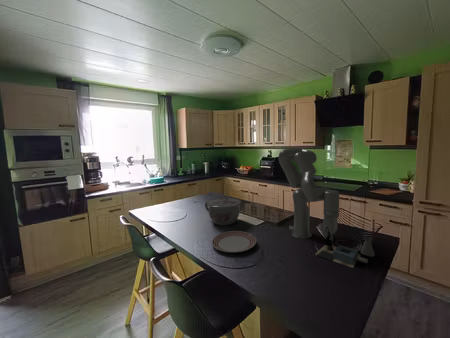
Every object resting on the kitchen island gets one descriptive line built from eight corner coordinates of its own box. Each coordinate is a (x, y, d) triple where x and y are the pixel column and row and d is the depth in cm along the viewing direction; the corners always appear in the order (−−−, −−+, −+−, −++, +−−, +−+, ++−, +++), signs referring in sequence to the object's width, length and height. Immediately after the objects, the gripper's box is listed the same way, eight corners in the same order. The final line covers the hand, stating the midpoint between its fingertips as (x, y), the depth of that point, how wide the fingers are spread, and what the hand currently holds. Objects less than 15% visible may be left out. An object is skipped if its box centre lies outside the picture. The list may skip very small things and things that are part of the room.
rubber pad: (317, 255, 112) (317, 255, 112) (322, 250, 117) (322, 250, 116) (331, 260, 107) (331, 260, 107) (335, 255, 112) (335, 254, 112)
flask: (360, 250, 118) (361, 233, 117) (376, 254, 113) (377, 237, 112) (358, 256, 112) (359, 238, 111) (375, 260, 108) (376, 242, 107)
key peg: (326, 249, 118) (326, 232, 117) (328, 247, 120) (328, 230, 119) (331, 251, 116) (332, 234, 115) (333, 249, 118) (334, 232, 117)
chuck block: (333, 258, 109) (333, 251, 108) (339, 251, 115) (339, 244, 115) (364, 269, 99) (365, 261, 98) (369, 261, 105) (369, 253, 105)
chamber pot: (247, 225, 159) (247, 198, 157) (213, 232, 149) (212, 203, 147) (233, 214, 185) (232, 191, 183) (203, 219, 175) (201, 195, 173)
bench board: (314, 256, 113) (314, 254, 113) (325, 245, 124) (325, 243, 124) (352, 270, 100) (352, 267, 100) (361, 256, 112) (361, 254, 111)
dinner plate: (217, 260, 113) (217, 254, 113) (208, 238, 139) (207, 234, 139) (264, 251, 120) (264, 246, 120) (246, 232, 147) (246, 228, 146)
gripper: (329, 207, 124) (328, 237, 126) (317, 215, 112) (317, 247, 114) (343, 210, 119) (342, 240, 121) (332, 218, 107) (331, 252, 109)
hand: (330, 243), depth 117 cm, fingers open, 4 cm apart
